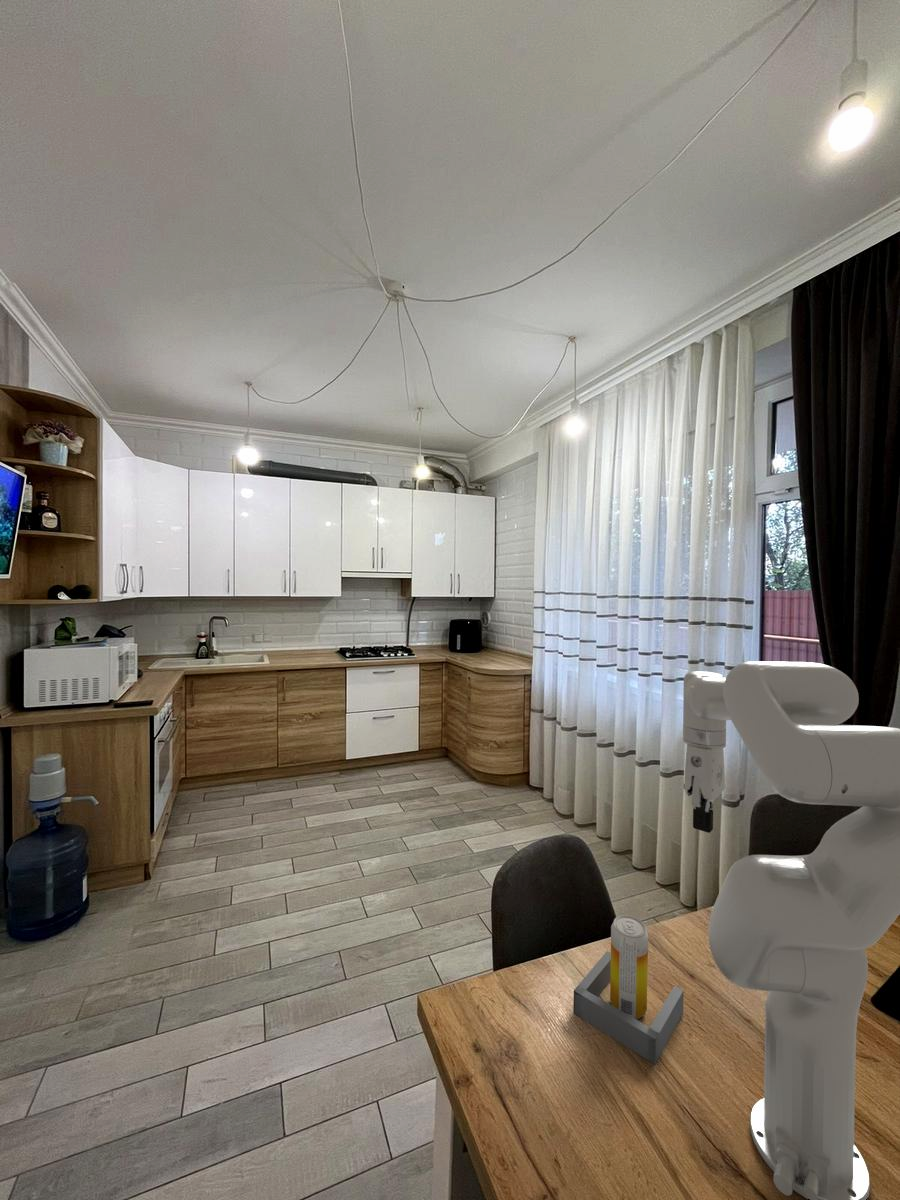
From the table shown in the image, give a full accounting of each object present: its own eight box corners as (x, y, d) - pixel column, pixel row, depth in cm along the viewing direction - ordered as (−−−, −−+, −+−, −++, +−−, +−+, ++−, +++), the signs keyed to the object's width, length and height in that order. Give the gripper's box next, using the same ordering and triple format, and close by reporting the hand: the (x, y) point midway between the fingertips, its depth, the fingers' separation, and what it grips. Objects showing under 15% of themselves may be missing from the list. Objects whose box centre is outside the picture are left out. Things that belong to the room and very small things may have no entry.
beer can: (645, 997, 90) (646, 917, 89) (648, 1026, 84) (649, 941, 83) (609, 988, 91) (611, 910, 90) (610, 1017, 86) (611, 934, 85)
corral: (655, 1065, 77) (655, 1039, 77) (573, 1013, 86) (573, 990, 86) (683, 1013, 87) (683, 990, 87) (606, 971, 96) (606, 951, 96)
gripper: (714, 748, 89) (713, 850, 89) (735, 731, 100) (734, 822, 100) (670, 739, 94) (669, 836, 94) (695, 725, 105) (694, 811, 105)
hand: (702, 829), depth 97 cm, fingers closed
